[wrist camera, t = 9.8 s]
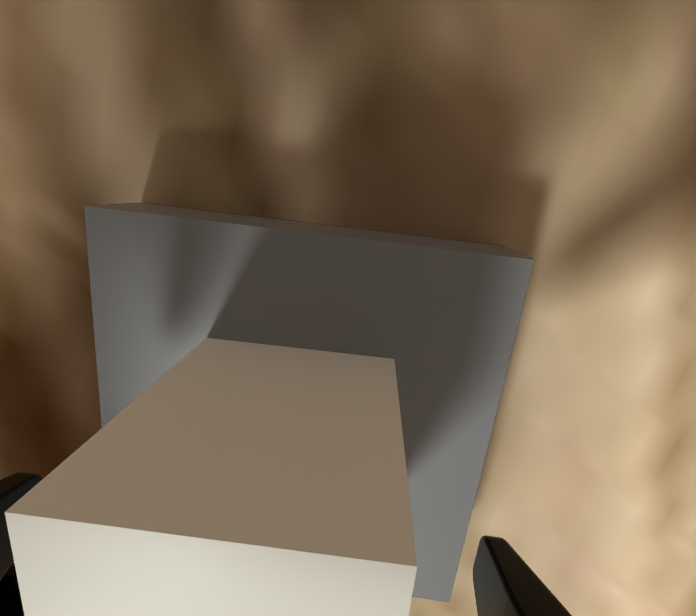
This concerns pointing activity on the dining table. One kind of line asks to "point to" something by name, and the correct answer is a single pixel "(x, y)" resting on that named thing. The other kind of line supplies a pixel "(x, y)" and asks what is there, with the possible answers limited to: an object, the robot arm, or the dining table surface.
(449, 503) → the grey square slab
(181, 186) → the dining table surface
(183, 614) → the cream block
